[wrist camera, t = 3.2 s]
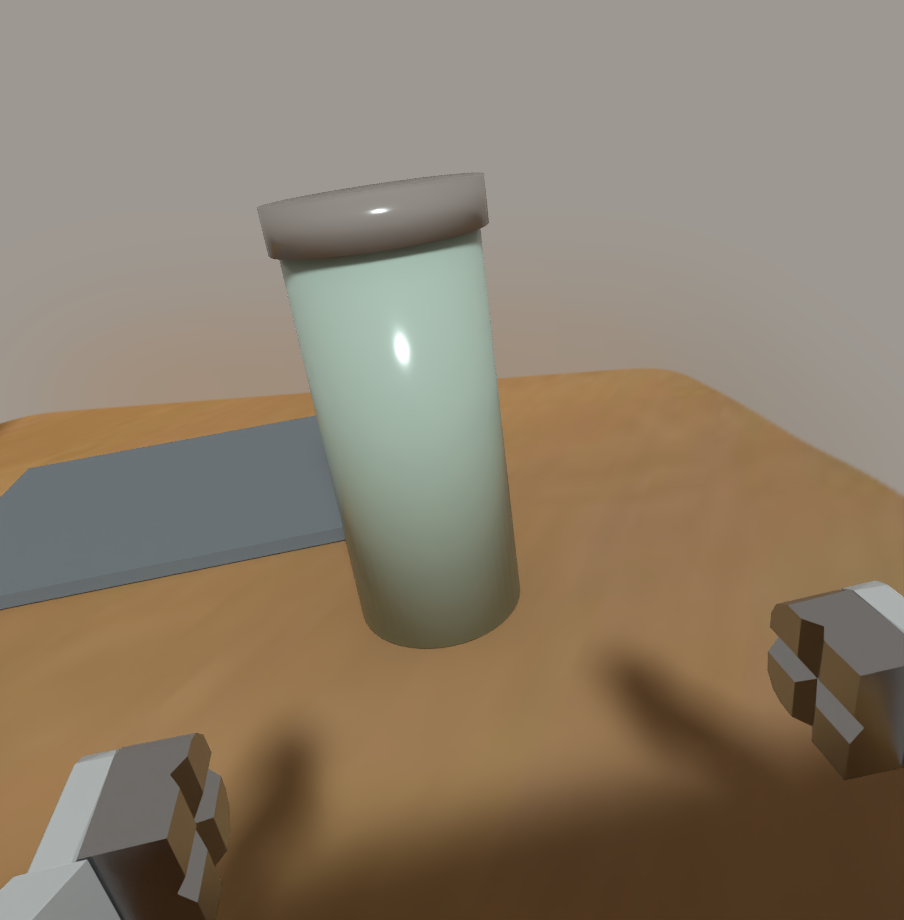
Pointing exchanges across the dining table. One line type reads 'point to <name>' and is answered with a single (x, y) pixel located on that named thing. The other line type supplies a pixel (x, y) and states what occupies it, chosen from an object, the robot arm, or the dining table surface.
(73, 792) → the robot arm
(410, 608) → the ceramic jar
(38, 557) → the cutting board
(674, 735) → the dining table surface
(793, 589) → the dining table surface
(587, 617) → the dining table surface
